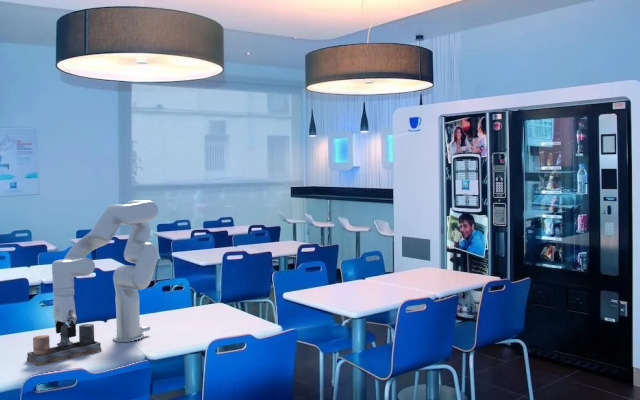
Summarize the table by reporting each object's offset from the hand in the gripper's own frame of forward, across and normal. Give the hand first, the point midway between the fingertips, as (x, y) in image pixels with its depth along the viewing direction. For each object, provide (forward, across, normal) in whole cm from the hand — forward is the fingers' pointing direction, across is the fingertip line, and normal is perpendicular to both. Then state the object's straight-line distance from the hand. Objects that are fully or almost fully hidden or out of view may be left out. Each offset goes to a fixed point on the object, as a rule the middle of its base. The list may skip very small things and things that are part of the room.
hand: (66, 334), depth 237 cm
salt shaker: (+7, 0, -1) cm, 7 cm away
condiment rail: (+8, 0, -1) cm, 8 cm away
